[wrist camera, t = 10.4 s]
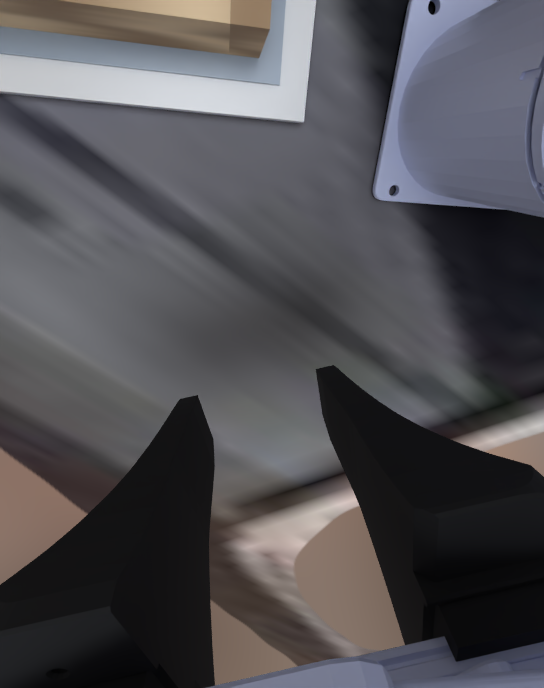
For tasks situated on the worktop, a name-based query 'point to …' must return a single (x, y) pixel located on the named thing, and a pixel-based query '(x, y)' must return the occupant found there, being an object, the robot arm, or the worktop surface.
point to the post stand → (168, 70)
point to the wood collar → (151, 22)
